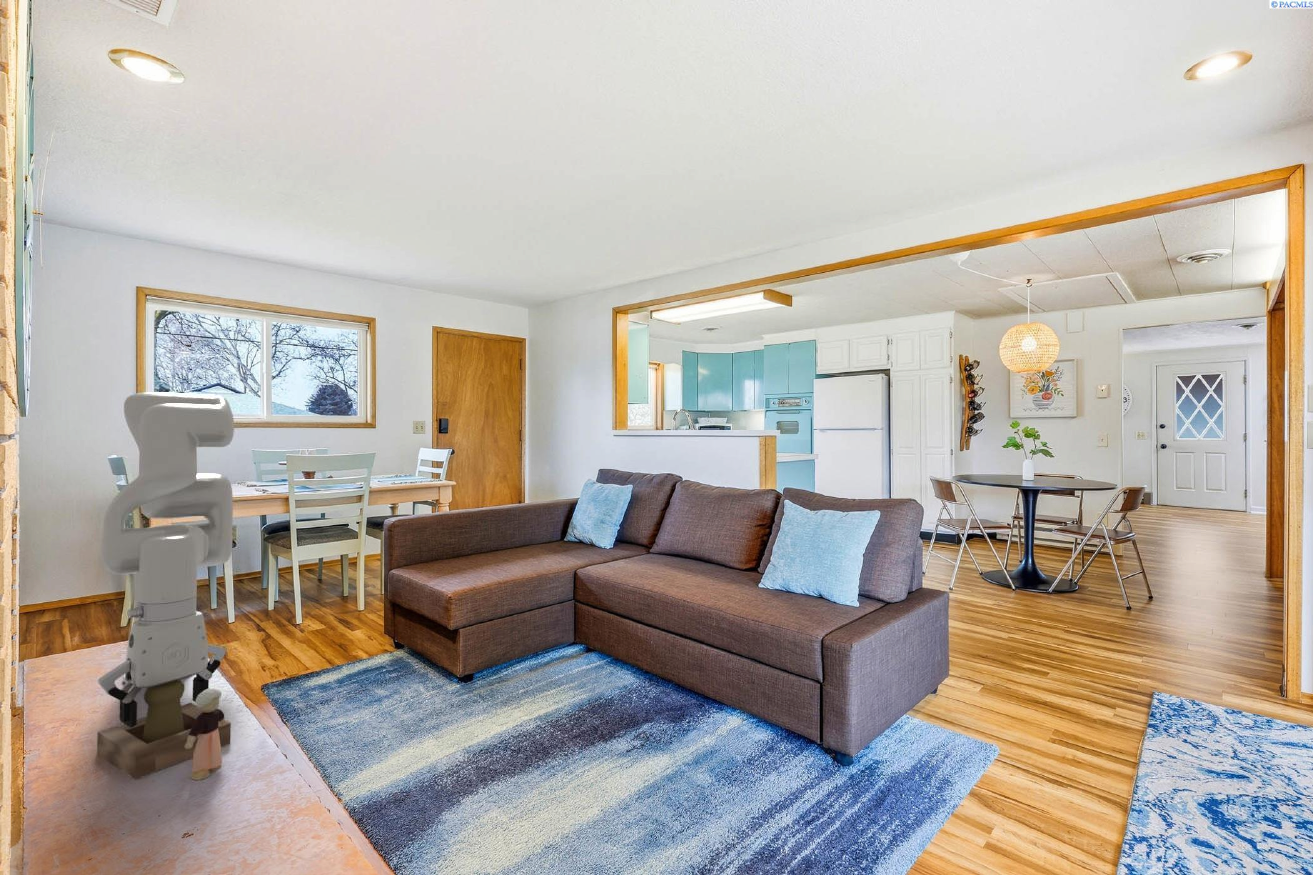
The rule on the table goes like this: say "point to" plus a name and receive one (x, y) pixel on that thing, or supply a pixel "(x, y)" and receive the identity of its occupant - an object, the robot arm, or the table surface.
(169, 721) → the cork
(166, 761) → the socket block
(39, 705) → the table surface
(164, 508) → the robot arm
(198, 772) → the grandmother figurine
